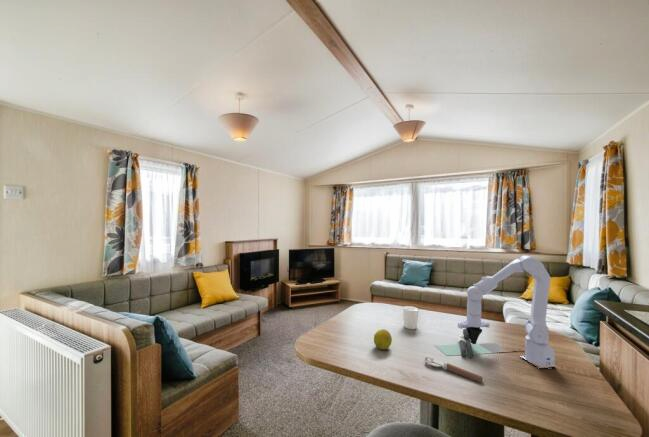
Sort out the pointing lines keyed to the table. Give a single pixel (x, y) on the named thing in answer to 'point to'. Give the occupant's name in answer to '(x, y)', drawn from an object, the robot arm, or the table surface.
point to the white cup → (410, 317)
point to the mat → (476, 349)
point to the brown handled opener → (453, 369)
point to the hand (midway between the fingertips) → (473, 343)
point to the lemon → (382, 339)
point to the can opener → (466, 339)
